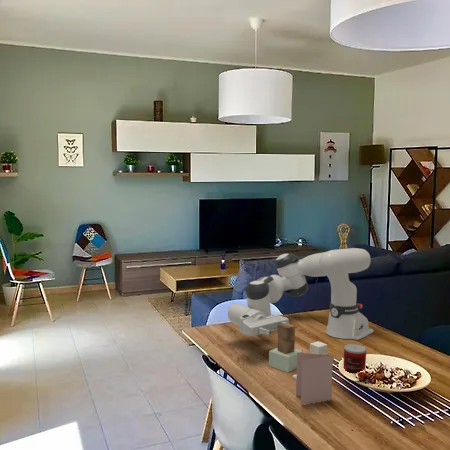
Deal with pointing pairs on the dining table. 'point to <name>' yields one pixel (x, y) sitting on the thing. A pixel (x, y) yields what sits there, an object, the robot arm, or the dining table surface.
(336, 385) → the dining table surface
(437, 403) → the dining table surface
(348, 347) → the canned food
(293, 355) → the sage block
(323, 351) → the offwhite post
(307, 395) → the greeting card
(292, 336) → the walnut post
